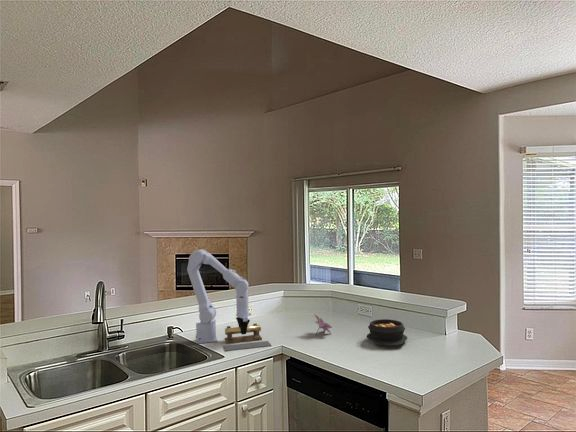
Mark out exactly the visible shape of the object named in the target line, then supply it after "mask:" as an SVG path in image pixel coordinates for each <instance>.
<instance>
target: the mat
mask: <svg viewBox="0 0 576 432" xmlns="http://www.w3.org/2000/svg"><path fill="white" fill-rule="evenodd" d="M222 347H223V349H224V351H225V352H231V351H233V352H234V351H239V350H241V351H242V350H249V349H257V348H265V347H266V348H267V347H272V344H271V343H270V341H268V340H265V341H263V340H261V341H256V342H255V341H252V342H243V343H234V344H226V345H223V346H222Z"/></svg>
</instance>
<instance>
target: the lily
mask: <svg viewBox="0 0 576 432" xmlns="http://www.w3.org/2000/svg"><path fill="white" fill-rule="evenodd" d="M313 315H314V317H315V319H316V320H315V321H314V323H315V324H317V325H318V329H317V330H316V333H315V336H317V335H318V331H320V329H322V330H323V331H324V332H326V331H327V333H329V334H330V335H332V332H331V331H330V330H329V329H332V328H333V326H332V325H330V323H327V322H325V321H324V320H323V318H322V317H319V316H318V315H316V314H315V313H313Z"/></svg>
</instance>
